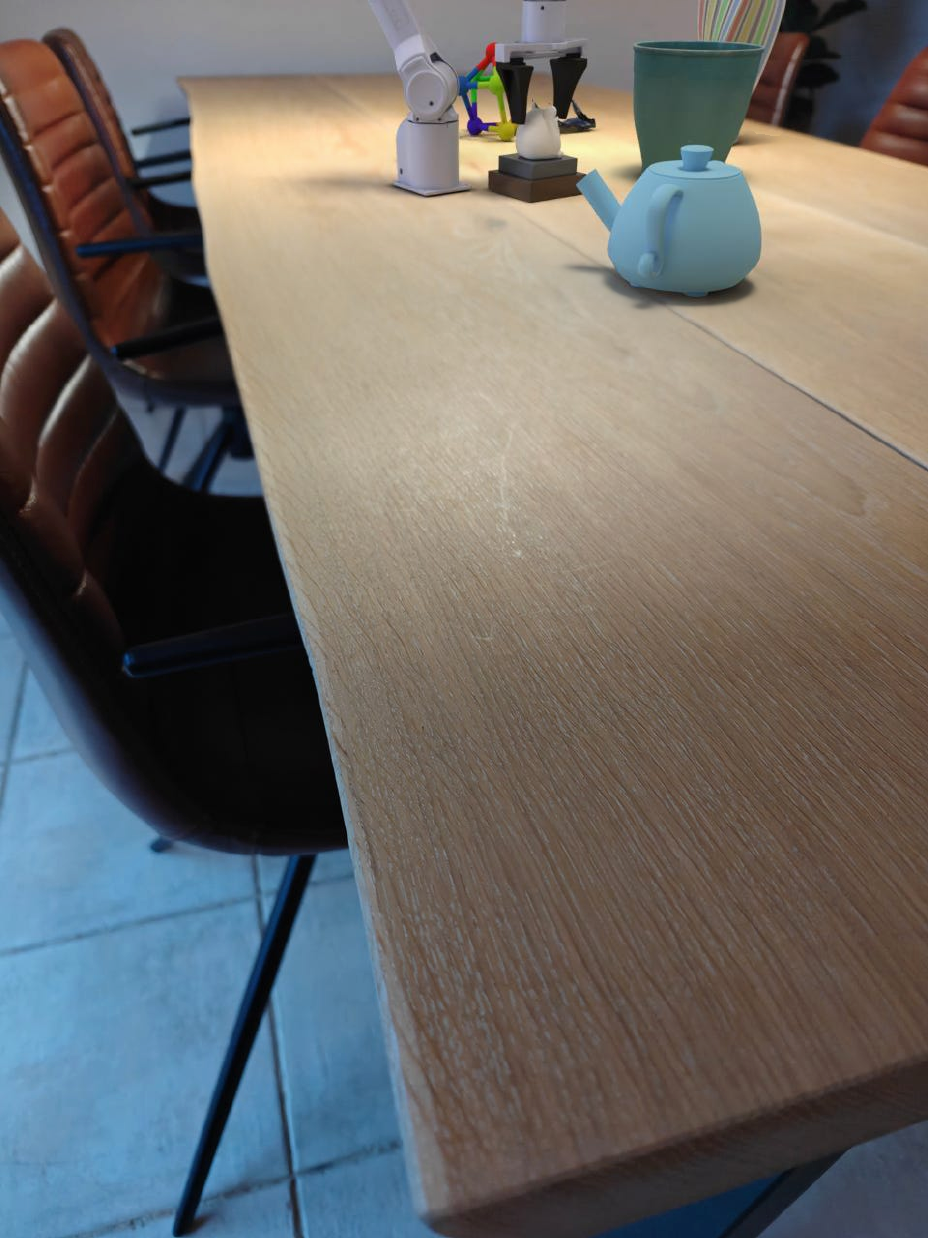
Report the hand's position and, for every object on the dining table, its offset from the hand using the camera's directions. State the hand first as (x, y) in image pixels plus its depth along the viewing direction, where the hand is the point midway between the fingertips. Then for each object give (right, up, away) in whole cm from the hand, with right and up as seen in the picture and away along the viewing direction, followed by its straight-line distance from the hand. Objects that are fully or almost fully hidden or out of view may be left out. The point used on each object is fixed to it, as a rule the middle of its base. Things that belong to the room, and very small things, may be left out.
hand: (539, 120), depth 121 cm
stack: (0, -7, +5) cm, 9 cm away
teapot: (+10, -32, -27) cm, 44 cm away
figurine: (0, -4, +3) cm, 5 cm away
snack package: (+9, +26, +49) cm, 56 cm away
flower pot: (+23, -1, +13) cm, 26 cm away
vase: (+35, +16, +36) cm, 53 cm away
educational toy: (-6, +21, +42) cm, 47 cm away
